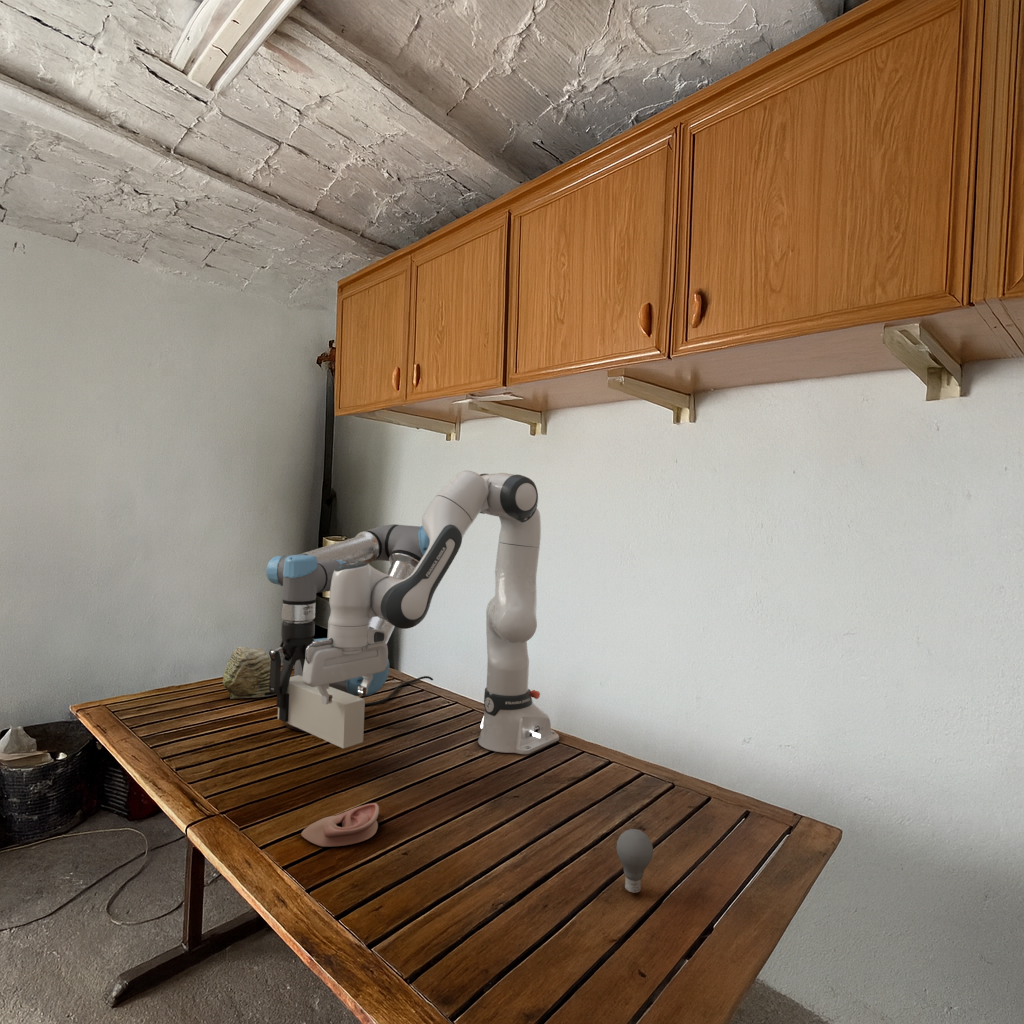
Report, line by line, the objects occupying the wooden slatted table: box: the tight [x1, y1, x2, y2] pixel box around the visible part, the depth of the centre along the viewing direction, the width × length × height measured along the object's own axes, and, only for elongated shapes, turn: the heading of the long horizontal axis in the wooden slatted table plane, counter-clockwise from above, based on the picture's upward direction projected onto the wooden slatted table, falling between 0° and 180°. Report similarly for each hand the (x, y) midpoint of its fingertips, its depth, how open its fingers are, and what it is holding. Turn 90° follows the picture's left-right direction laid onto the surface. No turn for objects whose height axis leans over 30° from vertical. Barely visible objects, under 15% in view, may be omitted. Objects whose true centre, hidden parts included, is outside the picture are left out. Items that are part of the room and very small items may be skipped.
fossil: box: [222, 646, 281, 699], centre depth 198 cm, size 9×18×15 cm, turn 132°
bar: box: [277, 675, 366, 749], centre depth 145 cm, size 26×5×10 cm, turn 51°
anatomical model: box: [300, 802, 380, 848], centre depth 120 cm, size 13×4×12 cm
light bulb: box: [615, 828, 654, 894], centre depth 106 cm, size 6×6×10 cm
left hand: (294, 717), depth 151 cm, fingers closed on bar, 5 cm apart
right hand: (345, 698), depth 139 cm, fingers open, 8 cm apart
